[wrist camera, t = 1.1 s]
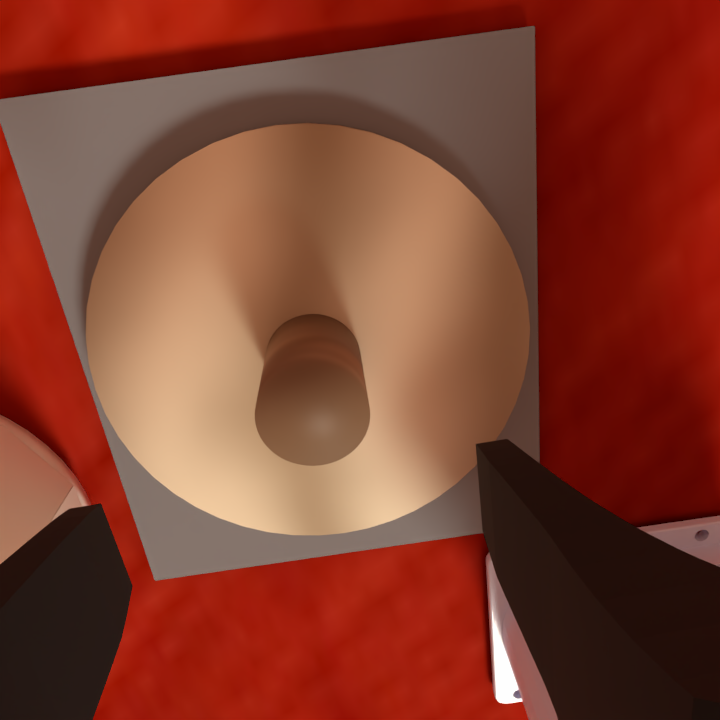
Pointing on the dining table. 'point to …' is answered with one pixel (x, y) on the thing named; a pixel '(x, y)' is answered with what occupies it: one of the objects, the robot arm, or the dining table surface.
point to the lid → (307, 329)
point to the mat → (253, 111)
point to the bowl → (31, 487)
